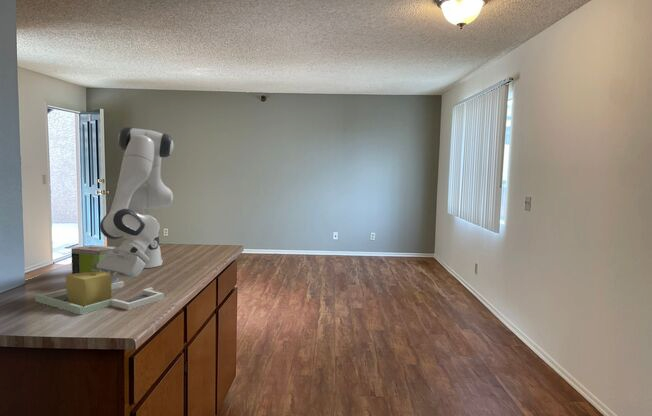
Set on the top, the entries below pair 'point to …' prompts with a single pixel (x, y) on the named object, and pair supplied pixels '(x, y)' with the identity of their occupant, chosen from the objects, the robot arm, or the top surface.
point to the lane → (61, 295)
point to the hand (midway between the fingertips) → (106, 283)
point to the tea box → (88, 258)
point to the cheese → (88, 287)
